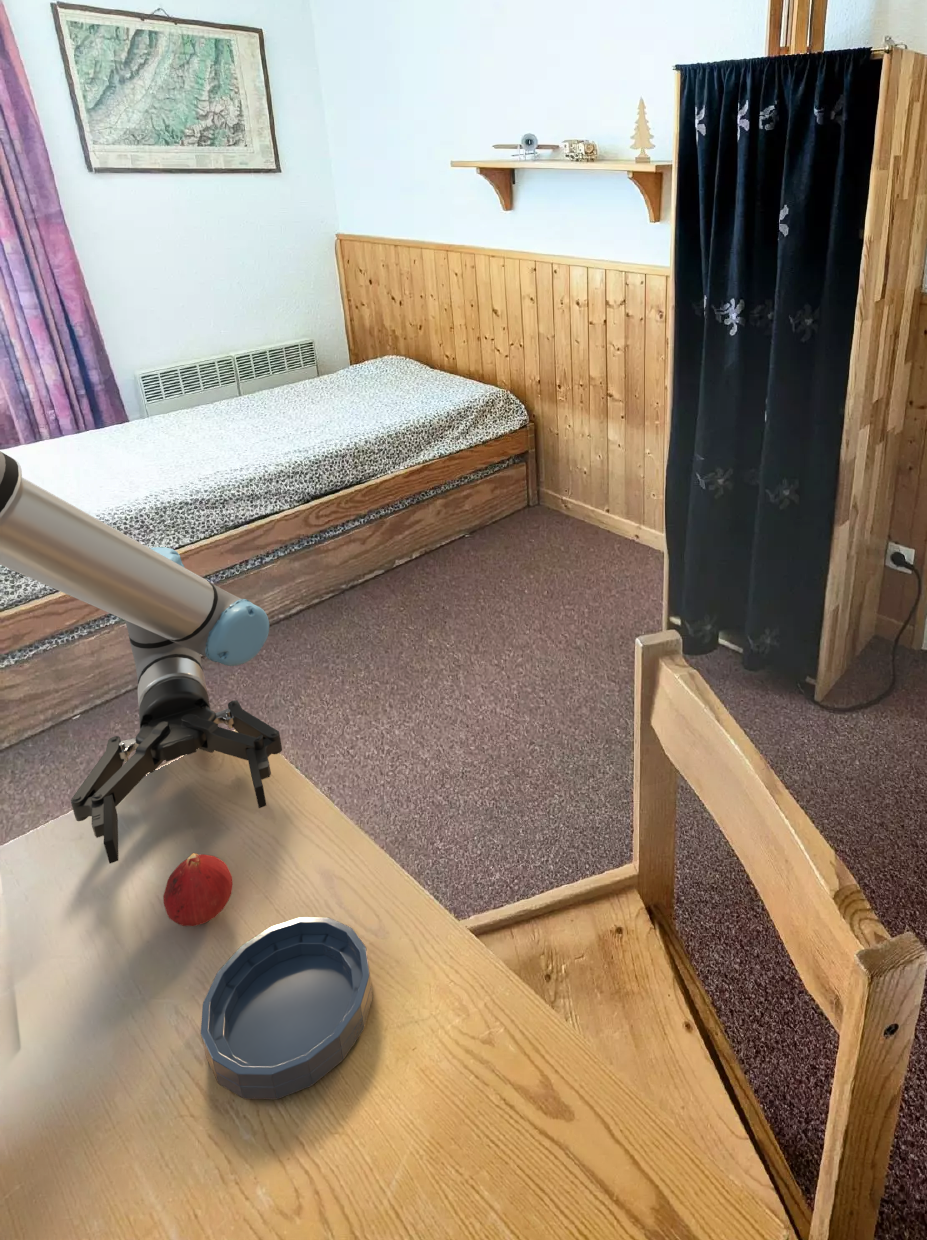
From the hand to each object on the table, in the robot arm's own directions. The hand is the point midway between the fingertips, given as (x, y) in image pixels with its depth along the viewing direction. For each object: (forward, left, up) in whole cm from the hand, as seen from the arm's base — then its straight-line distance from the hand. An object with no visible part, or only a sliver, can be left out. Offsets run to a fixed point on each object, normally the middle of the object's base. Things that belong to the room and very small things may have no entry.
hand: (189, 823), depth 79 cm
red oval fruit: (+3, -5, -6) cm, 9 cm away
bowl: (+15, -14, -6) cm, 22 cm away
